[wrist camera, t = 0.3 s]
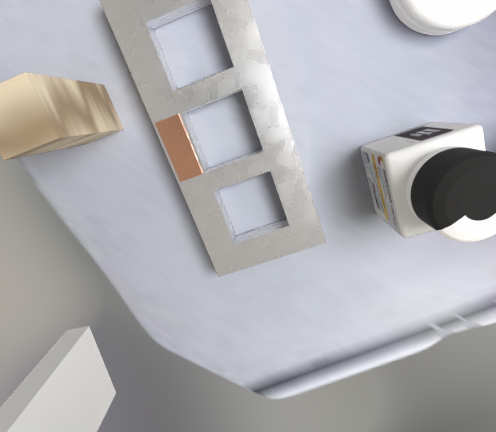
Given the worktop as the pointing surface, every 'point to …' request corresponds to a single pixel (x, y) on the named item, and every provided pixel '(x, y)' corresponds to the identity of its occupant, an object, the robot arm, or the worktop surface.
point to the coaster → (441, 14)
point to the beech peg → (52, 114)
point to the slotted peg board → (185, 140)
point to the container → (434, 181)
